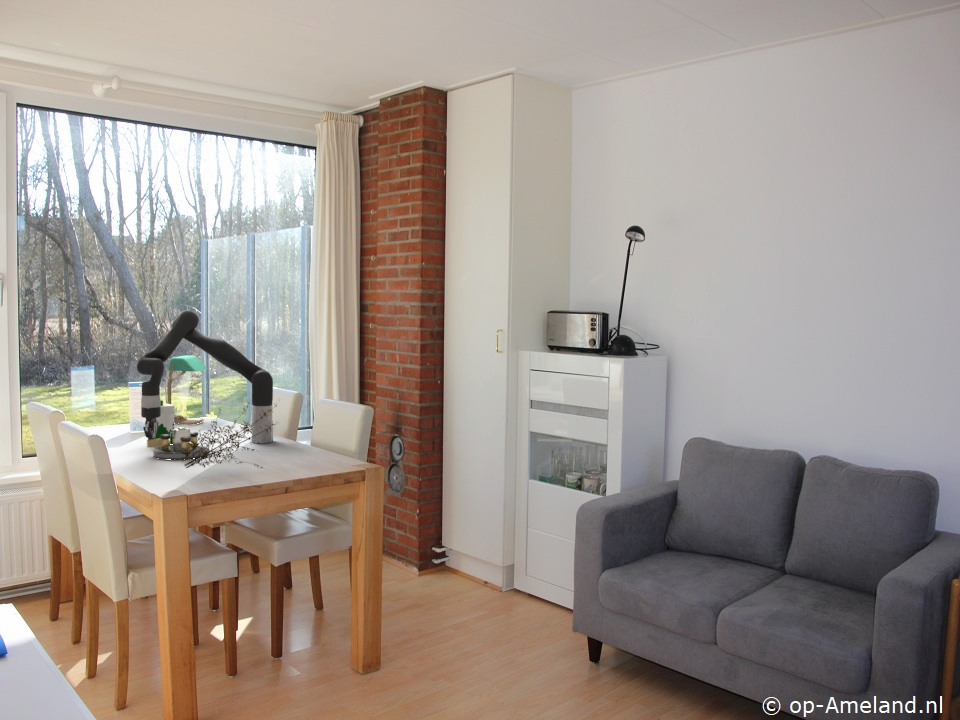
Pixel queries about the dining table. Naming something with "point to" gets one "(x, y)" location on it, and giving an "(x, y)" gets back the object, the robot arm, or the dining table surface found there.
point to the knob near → (194, 437)
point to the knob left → (186, 444)
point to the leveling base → (176, 454)
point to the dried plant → (222, 443)
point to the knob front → (160, 442)
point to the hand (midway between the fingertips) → (151, 446)
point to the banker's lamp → (180, 365)
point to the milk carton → (165, 421)
